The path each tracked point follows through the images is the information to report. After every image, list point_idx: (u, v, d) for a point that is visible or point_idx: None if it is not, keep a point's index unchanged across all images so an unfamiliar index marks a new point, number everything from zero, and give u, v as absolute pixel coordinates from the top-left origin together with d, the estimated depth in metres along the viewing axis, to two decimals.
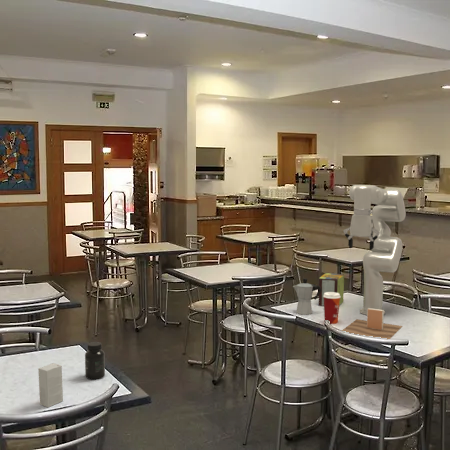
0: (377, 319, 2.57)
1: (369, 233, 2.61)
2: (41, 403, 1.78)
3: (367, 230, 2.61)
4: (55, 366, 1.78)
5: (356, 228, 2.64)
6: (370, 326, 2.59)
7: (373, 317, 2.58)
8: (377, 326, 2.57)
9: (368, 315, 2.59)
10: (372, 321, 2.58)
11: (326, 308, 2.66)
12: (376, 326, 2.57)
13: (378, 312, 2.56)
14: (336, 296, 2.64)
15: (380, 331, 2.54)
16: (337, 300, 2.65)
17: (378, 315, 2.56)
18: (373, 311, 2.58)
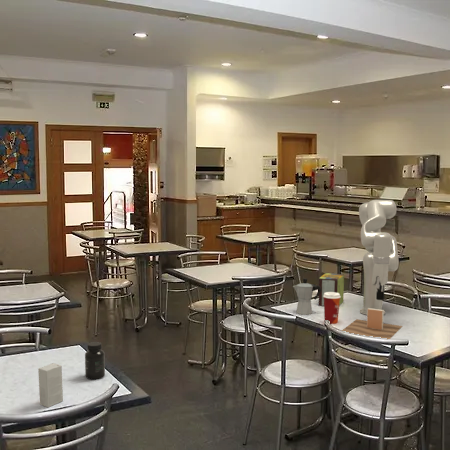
0: (377, 319, 2.57)
1: (387, 279, 2.64)
2: (41, 403, 1.78)
3: (387, 277, 2.64)
4: (55, 366, 1.78)
5: (384, 277, 2.59)
6: (370, 326, 2.59)
7: (373, 317, 2.58)
8: (377, 326, 2.57)
9: (368, 315, 2.59)
10: (372, 321, 2.58)
11: (326, 308, 2.66)
12: (376, 326, 2.57)
13: (378, 312, 2.56)
14: (336, 296, 2.64)
15: (380, 331, 2.54)
16: (337, 300, 2.65)
17: (378, 315, 2.56)
18: (373, 311, 2.58)
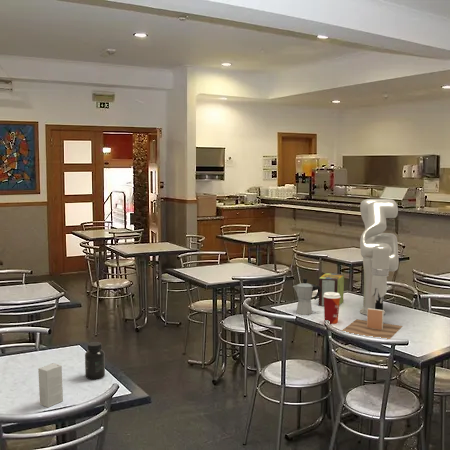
0: (377, 319, 2.57)
1: (386, 290, 2.64)
2: (41, 403, 1.78)
3: (386, 288, 2.63)
4: (55, 366, 1.78)
5: (383, 289, 2.59)
6: (370, 326, 2.59)
7: (373, 317, 2.58)
8: (377, 326, 2.57)
9: (368, 315, 2.59)
10: (372, 321, 2.58)
11: (326, 308, 2.66)
12: (376, 326, 2.57)
13: (378, 312, 2.56)
14: (336, 296, 2.64)
15: (380, 331, 2.54)
16: (337, 300, 2.65)
17: (378, 315, 2.56)
18: (373, 311, 2.58)
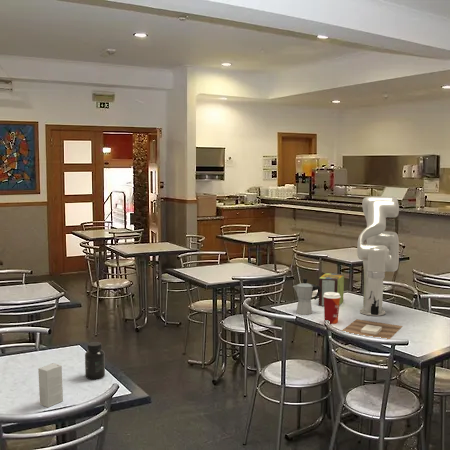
0: None
1: (381, 293, 2.58)
2: (41, 403, 1.78)
3: (382, 291, 2.57)
4: (55, 366, 1.78)
5: (379, 292, 2.53)
6: None
7: None
8: None
9: None
10: None
11: (326, 308, 2.66)
12: None
13: None
14: (336, 296, 2.64)
15: (380, 331, 2.54)
16: (337, 300, 2.65)
17: None
18: None
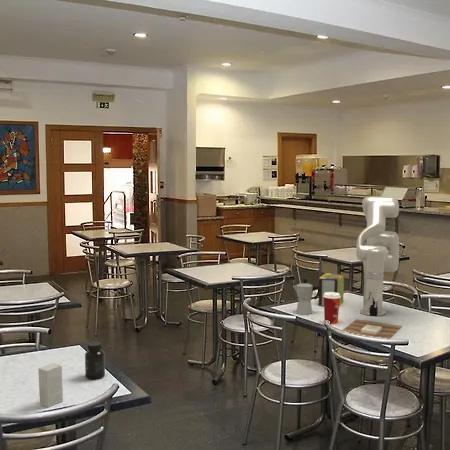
0: None
1: (380, 294, 2.57)
2: (41, 403, 1.78)
3: (381, 292, 2.56)
4: (55, 366, 1.78)
5: (378, 293, 2.52)
6: None
7: None
8: None
9: None
10: None
11: (326, 308, 2.66)
12: None
13: None
14: (336, 296, 2.64)
15: (380, 331, 2.54)
16: (337, 300, 2.65)
17: None
18: None
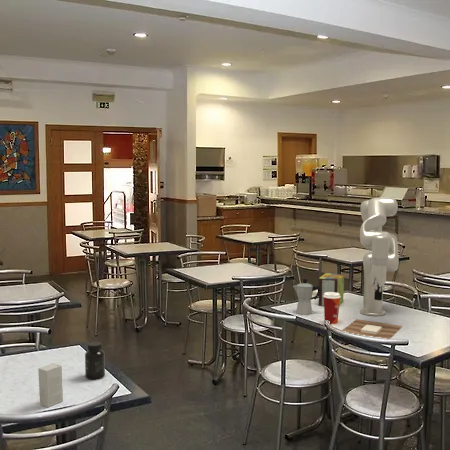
0: None
1: (385, 279, 2.63)
2: (41, 403, 1.78)
3: (385, 277, 2.62)
4: (55, 366, 1.78)
5: (382, 278, 2.58)
6: None
7: None
8: None
9: None
10: None
11: (326, 308, 2.66)
12: None
13: None
14: (336, 296, 2.64)
15: (380, 331, 2.54)
16: (337, 300, 2.65)
17: None
18: None
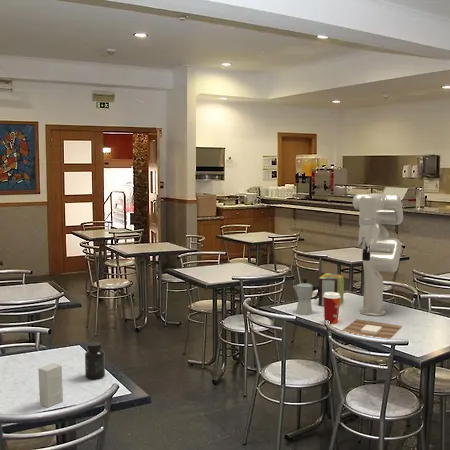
0: None
1: (373, 240, 2.69)
2: (41, 403, 1.78)
3: (373, 238, 2.68)
4: (55, 366, 1.78)
5: (370, 238, 2.63)
6: None
7: None
8: None
9: None
10: None
11: (326, 308, 2.66)
12: None
13: None
14: (336, 296, 2.64)
15: (380, 331, 2.54)
16: (337, 300, 2.65)
17: None
18: None
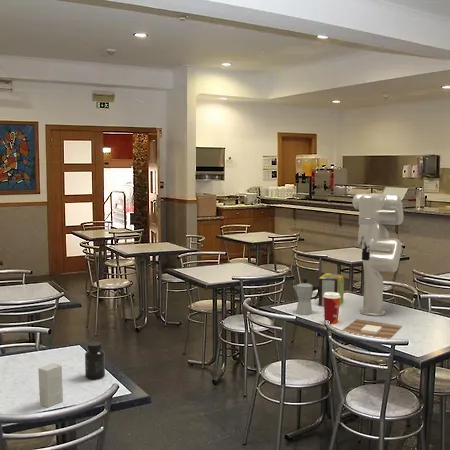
0: None
1: (372, 240, 2.69)
2: (41, 403, 1.78)
3: (373, 238, 2.68)
4: (55, 366, 1.78)
5: (369, 238, 2.63)
6: None
7: None
8: None
9: None
10: None
11: (326, 308, 2.66)
12: None
13: None
14: (336, 296, 2.64)
15: (380, 331, 2.54)
16: (337, 300, 2.65)
17: None
18: None
